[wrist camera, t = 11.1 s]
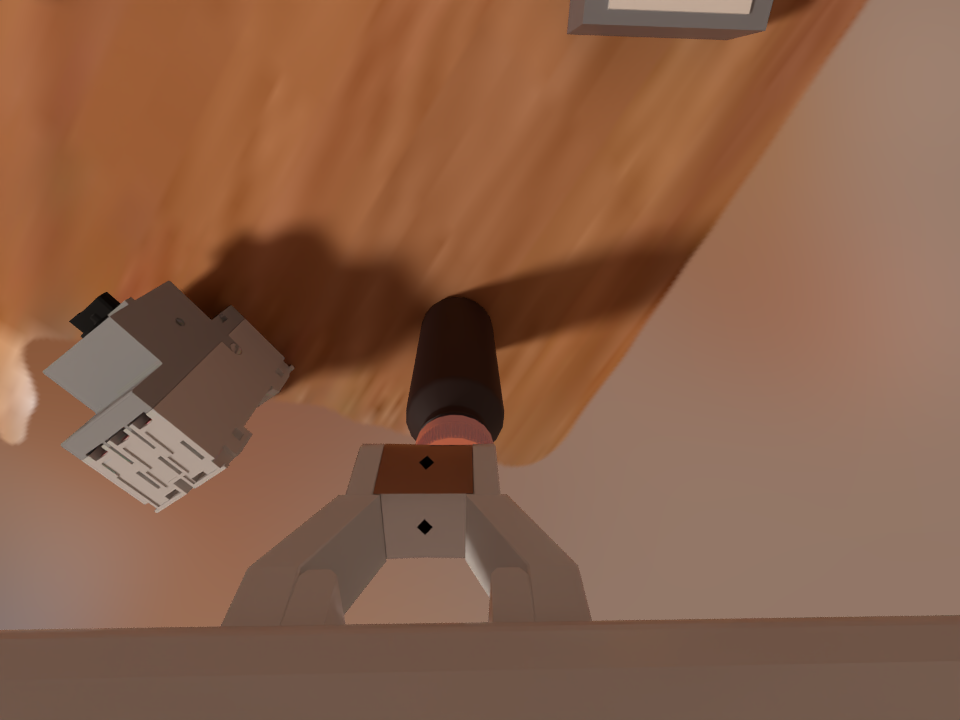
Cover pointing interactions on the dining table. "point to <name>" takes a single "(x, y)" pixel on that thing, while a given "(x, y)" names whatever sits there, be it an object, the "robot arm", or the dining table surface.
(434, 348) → the bottle
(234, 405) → the circuit breaker
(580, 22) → the panel
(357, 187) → the dining table surface
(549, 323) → the dining table surface
